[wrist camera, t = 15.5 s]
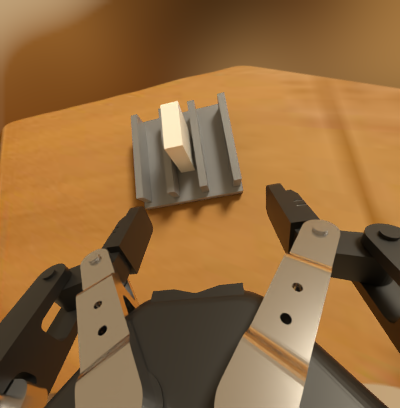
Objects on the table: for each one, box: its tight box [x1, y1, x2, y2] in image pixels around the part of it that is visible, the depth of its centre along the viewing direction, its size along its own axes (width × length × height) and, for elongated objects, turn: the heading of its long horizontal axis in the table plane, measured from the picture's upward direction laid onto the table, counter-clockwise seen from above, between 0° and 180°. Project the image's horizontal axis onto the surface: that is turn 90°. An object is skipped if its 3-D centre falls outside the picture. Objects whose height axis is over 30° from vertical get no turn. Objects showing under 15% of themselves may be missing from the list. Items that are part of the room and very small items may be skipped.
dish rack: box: [131, 92, 243, 210], centre depth 33 cm, size 18×18×5 cm
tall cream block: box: [160, 101, 195, 173], centre depth 29 cm, size 7×3×9 cm, turn 7°
